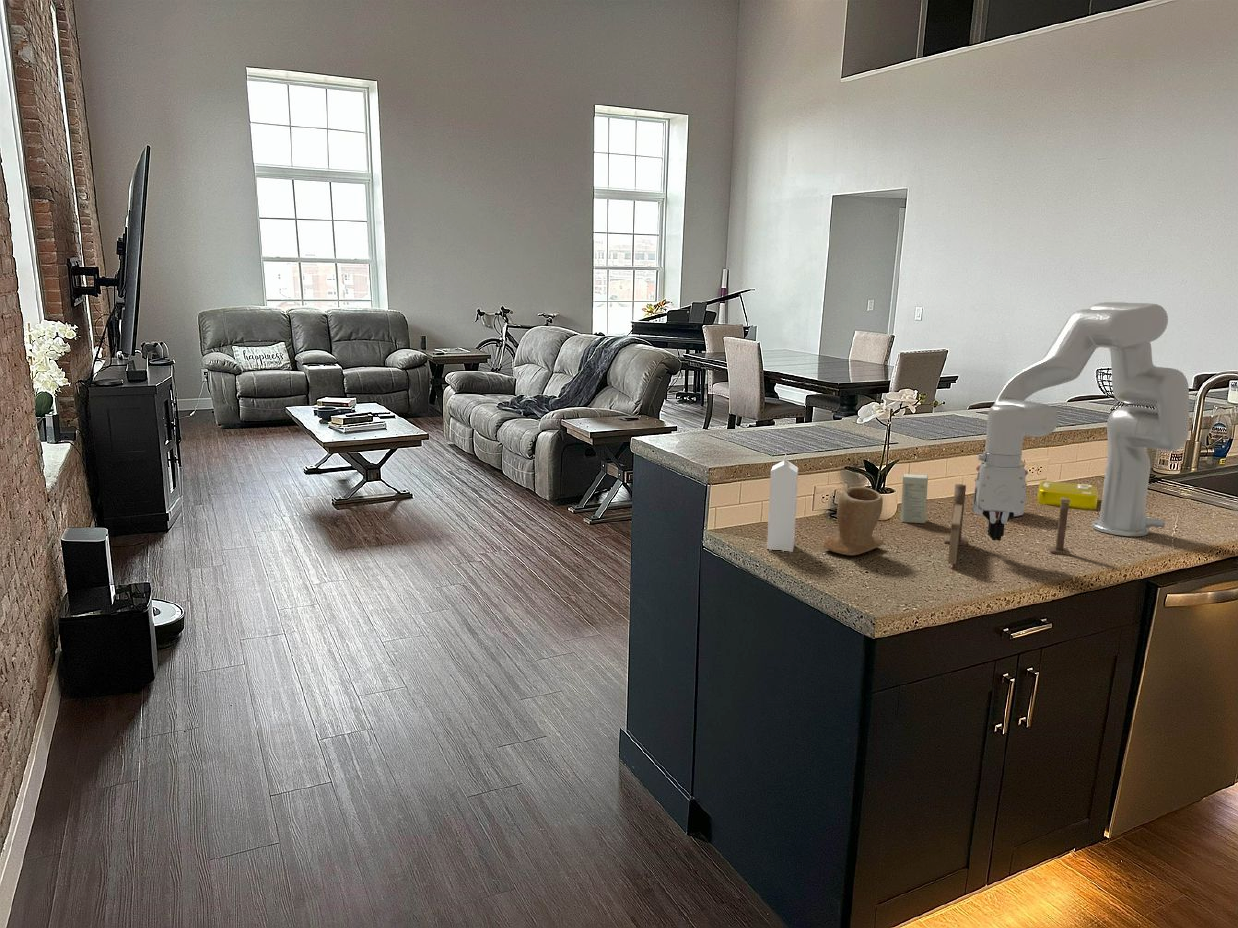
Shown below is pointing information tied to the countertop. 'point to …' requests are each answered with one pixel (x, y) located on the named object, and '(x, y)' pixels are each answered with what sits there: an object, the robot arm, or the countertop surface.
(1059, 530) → the gate frame
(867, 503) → the stone cup
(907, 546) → the countertop surface
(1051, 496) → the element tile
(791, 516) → the milk
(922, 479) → the skincare box
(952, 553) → the panel
